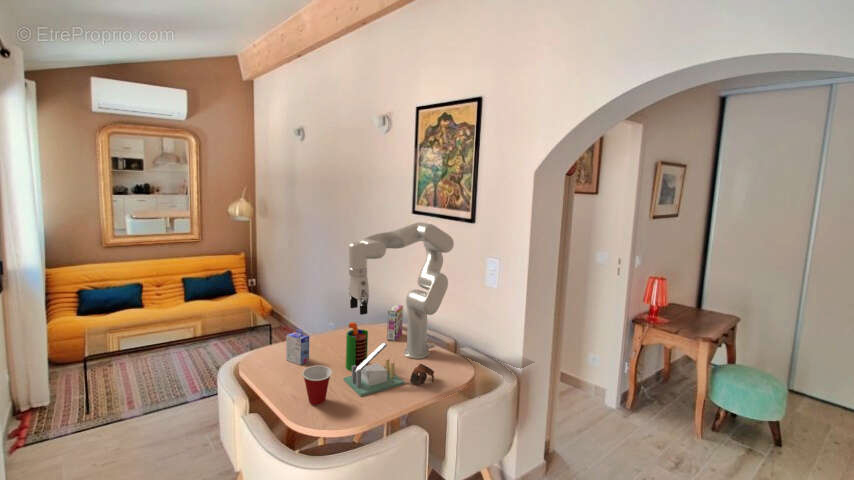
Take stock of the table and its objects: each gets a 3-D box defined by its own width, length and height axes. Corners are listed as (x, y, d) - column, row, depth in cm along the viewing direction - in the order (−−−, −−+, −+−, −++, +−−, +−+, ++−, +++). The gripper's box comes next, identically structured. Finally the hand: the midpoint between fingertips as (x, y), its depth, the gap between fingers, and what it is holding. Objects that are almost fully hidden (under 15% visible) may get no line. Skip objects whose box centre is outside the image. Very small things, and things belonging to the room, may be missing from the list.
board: (385, 369, 189) (385, 352, 188) (404, 383, 176) (404, 365, 175) (343, 380, 178) (343, 361, 177) (360, 396, 165) (360, 377, 164)
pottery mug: (407, 378, 182) (416, 360, 184) (427, 388, 183) (435, 370, 184) (409, 384, 171) (418, 365, 172) (430, 395, 171) (439, 376, 172)
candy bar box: (395, 341, 221) (396, 311, 219) (386, 340, 223) (387, 310, 220) (402, 334, 232) (403, 305, 230) (394, 333, 233) (394, 304, 231)
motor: (361, 372, 185) (362, 328, 182) (342, 370, 187) (342, 326, 184) (369, 363, 195) (369, 321, 192) (350, 360, 197) (351, 319, 194)
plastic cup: (313, 412, 153) (313, 381, 151) (296, 401, 160) (296, 371, 158) (338, 401, 161) (338, 371, 159) (320, 391, 168) (320, 362, 166)
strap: (384, 343, 179) (383, 341, 179) (387, 345, 177) (386, 343, 177) (354, 372, 173) (353, 370, 172) (357, 374, 171) (356, 372, 170)
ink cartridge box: (310, 361, 195) (310, 331, 193) (300, 365, 190) (300, 334, 188) (295, 356, 200) (294, 326, 198) (285, 360, 195) (285, 329, 193)
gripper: (375, 274, 174) (375, 315, 177) (357, 266, 188) (358, 304, 191) (358, 277, 170) (359, 318, 173) (341, 268, 184) (342, 306, 187)
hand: (358, 310), depth 182 cm, fingers open, 9 cm apart
